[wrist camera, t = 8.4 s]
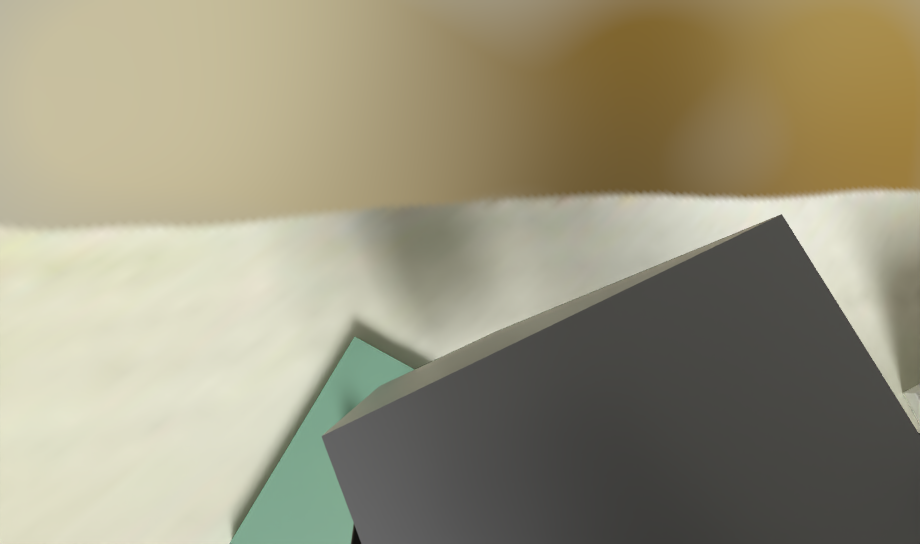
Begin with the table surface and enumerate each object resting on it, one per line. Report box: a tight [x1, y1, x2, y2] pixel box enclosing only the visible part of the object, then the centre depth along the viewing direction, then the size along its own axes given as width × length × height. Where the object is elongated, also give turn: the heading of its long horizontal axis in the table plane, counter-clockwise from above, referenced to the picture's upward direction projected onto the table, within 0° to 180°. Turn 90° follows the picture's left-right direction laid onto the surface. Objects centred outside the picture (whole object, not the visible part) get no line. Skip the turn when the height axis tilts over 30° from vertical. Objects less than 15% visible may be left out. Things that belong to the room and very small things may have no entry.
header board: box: [230, 337, 415, 544], centre depth 19 cm, size 18×11×4 cm, turn 62°
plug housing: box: [321, 214, 920, 544], centre depth 9 cm, size 5×5×12 cm
